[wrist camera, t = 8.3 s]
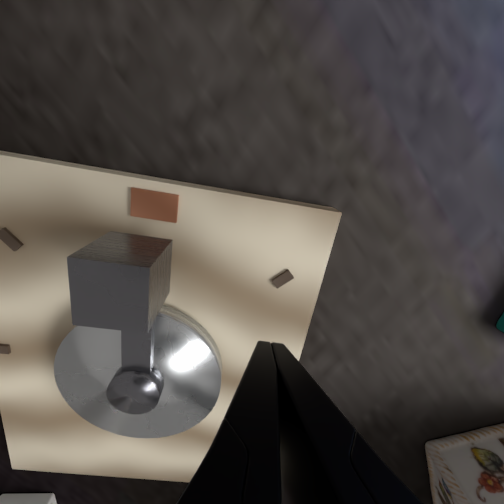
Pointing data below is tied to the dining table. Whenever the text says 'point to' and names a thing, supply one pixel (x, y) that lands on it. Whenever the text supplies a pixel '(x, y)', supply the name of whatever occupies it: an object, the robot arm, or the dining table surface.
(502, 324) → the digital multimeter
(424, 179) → the dining table surface
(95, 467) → the dial board
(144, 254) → the dial
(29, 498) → the ink cartridge box
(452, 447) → the decorative jar
